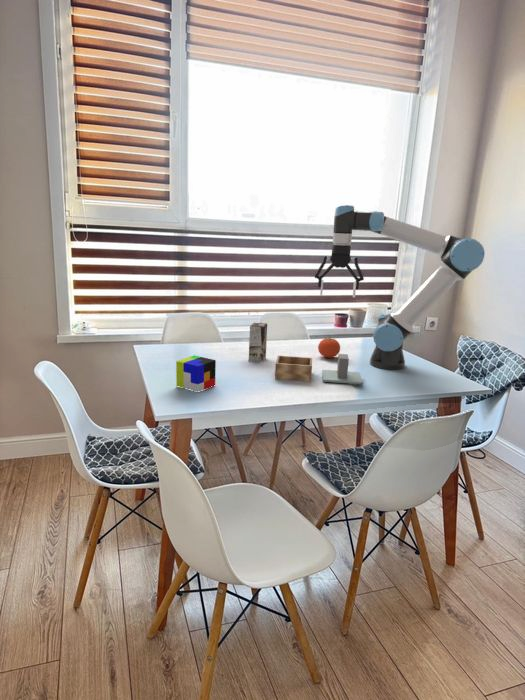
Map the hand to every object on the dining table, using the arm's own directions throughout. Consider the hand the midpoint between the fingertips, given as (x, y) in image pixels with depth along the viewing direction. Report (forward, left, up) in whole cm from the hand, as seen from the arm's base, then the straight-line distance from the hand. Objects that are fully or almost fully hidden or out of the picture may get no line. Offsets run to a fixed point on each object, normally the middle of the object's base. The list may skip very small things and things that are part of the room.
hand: (337, 296), depth 197 cm
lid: (-3, +20, -31) cm, 37 cm away
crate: (+16, +20, -31) cm, 40 cm away
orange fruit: (+1, -14, -31) cm, 34 cm away
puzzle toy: (+51, +39, -31) cm, 71 cm away
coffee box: (+33, -2, -31) cm, 45 cm away
